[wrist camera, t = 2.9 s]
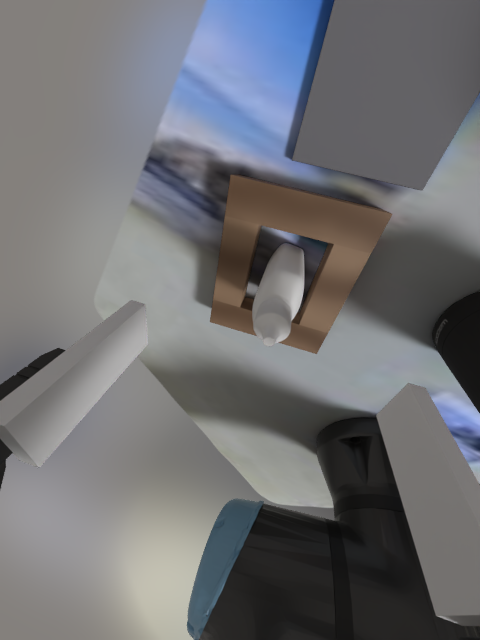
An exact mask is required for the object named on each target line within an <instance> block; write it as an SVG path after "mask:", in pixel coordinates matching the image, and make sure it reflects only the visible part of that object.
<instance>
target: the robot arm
mask: <svg viewBox="0 0 480 640" xmlns="http://www.w3.org/2000/svg"><path fill="white" fill-rule="evenodd" d="M147 345H148V334H147V321H146V308H145V304H143V303H139V302H136V301H133V300H131V301H129V302H128V303H127V304H126V305H124V306H123V307H122V308H120V309H119V310H118V311H117V312H115V313H114V314H113V315H111V316H110V317H109V318H107V319H106V320H105V321H104V322H102V323H101V324H100V325H98V326H97V327H96V328H94V329H93V330H92V331H91V332H89V333H88V334H87V335H85V336H84V337H83V338H81V339H80V340H79V341H78V342H76V343H75V344H74V345H72V346H71V347H70V348H69V349H67V350H63V349H60V348H57V349H55V350H53V351H50V352H48V353H46V354H44V355H41V356H40V357H39V358H37V359H36V360H34V361H33V362H32V363H30V364H29V365H28V367H25V368H23V369H22V370H20V371H19V372H18V373H17V374H16V375H15V376H14V375H13V376H12V377H11V378H9V379H8V380H7V381H5V382H4V383H2V384H1V385H0V488H1V484H2V480H3V476H4V472H5V468H6V459H7V458H8V457H9V456H10V455H11V454H12V453H13V454H14V455H15V456H16V457H17V458H18V459H19V460H20V461H22V462H25V463H28V464H30V465H33V466H36V467H38V468H40V466H41V465H42V464H43V463H44V462H45V461H46V460H47V458H48V457H49V456H50V455H51V454H52V453H53V452H54V451H55V449H56V448H57V447H58V446H59V445H60V444H61V443H62V441H63V440H64V439H65V438H66V437H67V436H68V434H69V433H70V432H71V431H72V430H73V429H74V427H76V425H77V424H78V423H79V422H80V421H81V420H82V419H83V418H84V416H85V415H86V414H87V413H88V412H89V411H90V410H91V408H92V407H93V406H94V405H95V404H96V403H97V401H98V400H99V399H100V398H101V397H102V396H103V395H104V393H105V392H106V391H107V390H108V389H109V388H110V387H111V386H112V385H113V383H114V382H115V381H116V380H117V379H118V377H120V375H121V374H122V373H123V372H124V371H125V370H126V369H127V367H128V366H129V365H130V364H131V363H132V362H133V360H134V359H135V358H136V357H137V356H138V355H139V354H140V353H141V352H142V350H143V349H144V348H145V347H146V346H147ZM376 417H377V419H372V418H356V419H348V420H343V421H339V422H336V423H334V424H331V425H329V426H328V427H326V428H325V429H323V430H322V431H321V432H320V434H319V435H318V437H317V442H316V443H317V457H318V461H319V464H320V466H321V469H322V472H323V475H324V477H325V480H326V483H327V486H328V488H329V491H330V494H331V497H332V500H333V506H334V516H335V521H333V520H329V519H325V518H322V517H318V516H313V515H309V514H305V513H301V512H297V511H292V510H288V509H284V508H280V507H276V506H271V505H267V504H263V503H264V502H263V501H259V502H255V501H249V500H244V499H233V500H231V501H229V502H228V503H227V504H226V505H225V506H224V507H223V509H222V510H221V512H220V514H219V515H218V517H217V519H216V521H215V524H214V526H213V529H212V531H211V533H210V536H209V539H208V541H207V544H206V547H205V549H204V552H203V555H202V559H201V562H200V565H199V568H198V572H197V575H196V579H195V582H194V586H193V590H192V594H191V598H190V603H189V609H188V622H187V630H188V633H189V634H190V635H191V636H192V637H193V639H194V640H480V484H479V483H478V481H477V479H476V477H475V476H474V474H473V472H472V470H471V468H470V467H469V465H468V463H467V461H466V459H465V458H464V456H463V454H462V452H461V451H460V449H459V447H458V445H457V443H456V442H455V440H454V438H453V436H452V435H451V433H450V431H449V429H448V427H447V426H446V424H445V422H444V420H443V418H442V417H441V415H440V413H439V411H438V410H437V408H436V406H435V404H434V402H433V401H432V399H431V397H430V395H429V393H428V392H427V390H426V388H424V387H421V386H417V385H414V384H410V383H408V384H407V385H406V386H405V387H404V388H403V389H402V390H401V391H400V392H399V393H398V394H397V395H396V396H395V397H394V398H393V399H392V400H391V401H390V402H389V403H388V404H387V405H386V406H385V407H384V408H383V409H382V410H381V411H380V412H379V413H378V414H377V415H376Z"/></svg>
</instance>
